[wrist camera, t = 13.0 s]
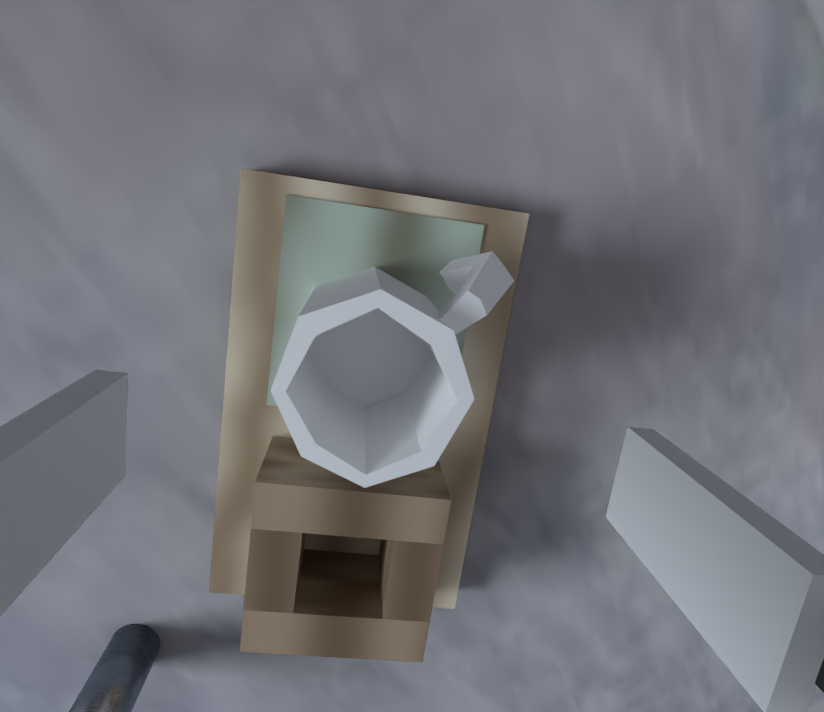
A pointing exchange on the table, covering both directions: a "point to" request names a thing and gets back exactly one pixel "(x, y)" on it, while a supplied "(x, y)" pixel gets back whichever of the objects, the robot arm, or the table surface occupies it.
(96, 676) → the cylindrical pin
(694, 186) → the table surface
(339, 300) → the mug
